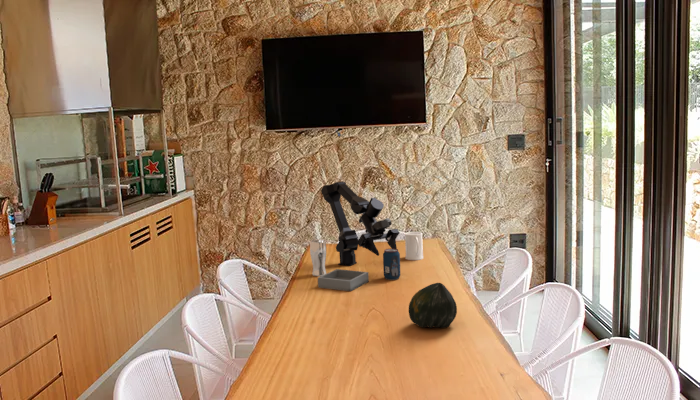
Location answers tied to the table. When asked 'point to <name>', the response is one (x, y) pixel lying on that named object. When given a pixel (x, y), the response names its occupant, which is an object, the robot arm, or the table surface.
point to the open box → (343, 280)
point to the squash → (433, 307)
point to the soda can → (391, 264)
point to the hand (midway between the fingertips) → (387, 253)
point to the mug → (414, 245)
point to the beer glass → (318, 256)
